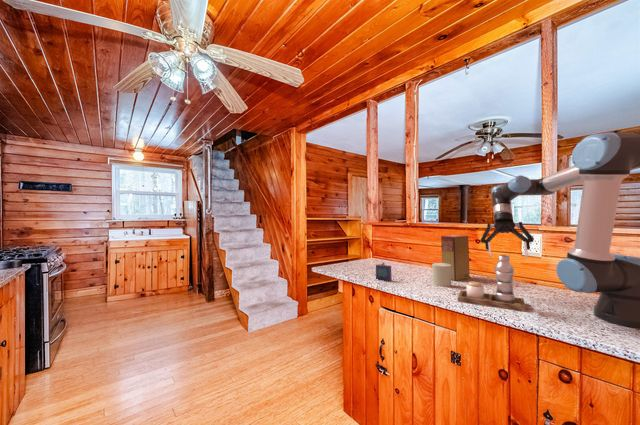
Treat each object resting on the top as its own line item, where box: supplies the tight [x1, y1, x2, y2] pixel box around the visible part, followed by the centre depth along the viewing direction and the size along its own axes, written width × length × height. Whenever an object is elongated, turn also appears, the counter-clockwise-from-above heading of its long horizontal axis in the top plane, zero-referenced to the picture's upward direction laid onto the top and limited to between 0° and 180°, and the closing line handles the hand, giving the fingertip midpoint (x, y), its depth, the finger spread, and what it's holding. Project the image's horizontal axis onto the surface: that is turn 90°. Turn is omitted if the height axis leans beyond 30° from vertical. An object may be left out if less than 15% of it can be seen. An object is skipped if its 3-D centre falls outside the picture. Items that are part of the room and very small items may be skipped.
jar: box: [466, 280, 485, 300], centre depth 115 cm, size 6×6×7 cm
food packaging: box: [440, 234, 471, 282], centre depth 156 cm, size 13×9×25 cm
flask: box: [375, 261, 393, 282], centre depth 155 cm, size 9×3×11 cm, turn 61°
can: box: [431, 262, 452, 288], centre depth 140 cm, size 9×9×12 cm
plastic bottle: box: [494, 254, 516, 304], centre depth 109 cm, size 6×7×20 cm
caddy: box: [457, 289, 527, 312], centre depth 112 cm, size 23×11×3 cm, turn 56°
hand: (508, 256), depth 120 cm, fingers open, 13 cm apart
